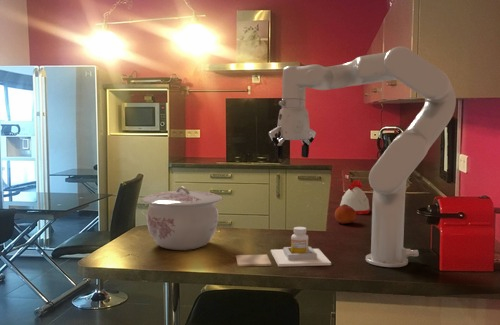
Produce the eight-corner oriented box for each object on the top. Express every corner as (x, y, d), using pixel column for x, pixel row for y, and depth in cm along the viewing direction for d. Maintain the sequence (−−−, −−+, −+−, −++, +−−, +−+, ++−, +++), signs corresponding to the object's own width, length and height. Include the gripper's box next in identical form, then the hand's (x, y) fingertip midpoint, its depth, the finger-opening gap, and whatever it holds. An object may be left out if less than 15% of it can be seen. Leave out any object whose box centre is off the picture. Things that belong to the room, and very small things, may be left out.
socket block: (318, 250, 164) (318, 243, 163) (331, 265, 148) (331, 257, 148) (270, 252, 162) (270, 244, 162) (278, 266, 146) (278, 258, 146)
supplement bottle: (297, 255, 159) (297, 225, 158) (311, 258, 155) (312, 227, 154) (287, 258, 155) (288, 228, 154) (302, 261, 151) (302, 230, 150)
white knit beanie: (375, 212, 233) (376, 180, 231) (355, 215, 225) (355, 182, 224) (354, 207, 244) (354, 177, 243) (333, 210, 236) (334, 179, 235)
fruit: (350, 226, 201) (351, 207, 201) (331, 223, 207) (331, 204, 206) (359, 222, 208) (360, 204, 208) (340, 220, 214) (341, 202, 213)
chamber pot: (211, 258, 154) (211, 193, 152) (128, 254, 159) (127, 190, 157) (230, 237, 181) (230, 181, 179) (160, 234, 186) (159, 179, 184)
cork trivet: (266, 256, 157) (266, 254, 157) (271, 265, 147) (271, 263, 147) (235, 257, 156) (235, 255, 156) (238, 266, 146) (238, 264, 146)
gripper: (275, 104, 152) (274, 159, 154) (322, 105, 160) (320, 158, 161) (264, 104, 159) (263, 157, 160) (309, 105, 166) (308, 156, 168)
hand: (292, 157), depth 161 cm, fingers open, 9 cm apart
